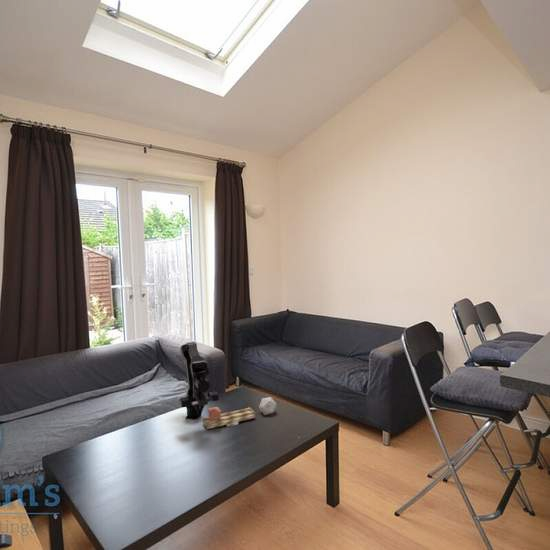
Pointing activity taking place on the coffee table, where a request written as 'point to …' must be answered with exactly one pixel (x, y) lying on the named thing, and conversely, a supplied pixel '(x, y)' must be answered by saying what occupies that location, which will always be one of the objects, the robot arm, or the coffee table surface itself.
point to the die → (267, 405)
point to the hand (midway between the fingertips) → (199, 415)
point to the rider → (214, 413)
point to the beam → (230, 418)
